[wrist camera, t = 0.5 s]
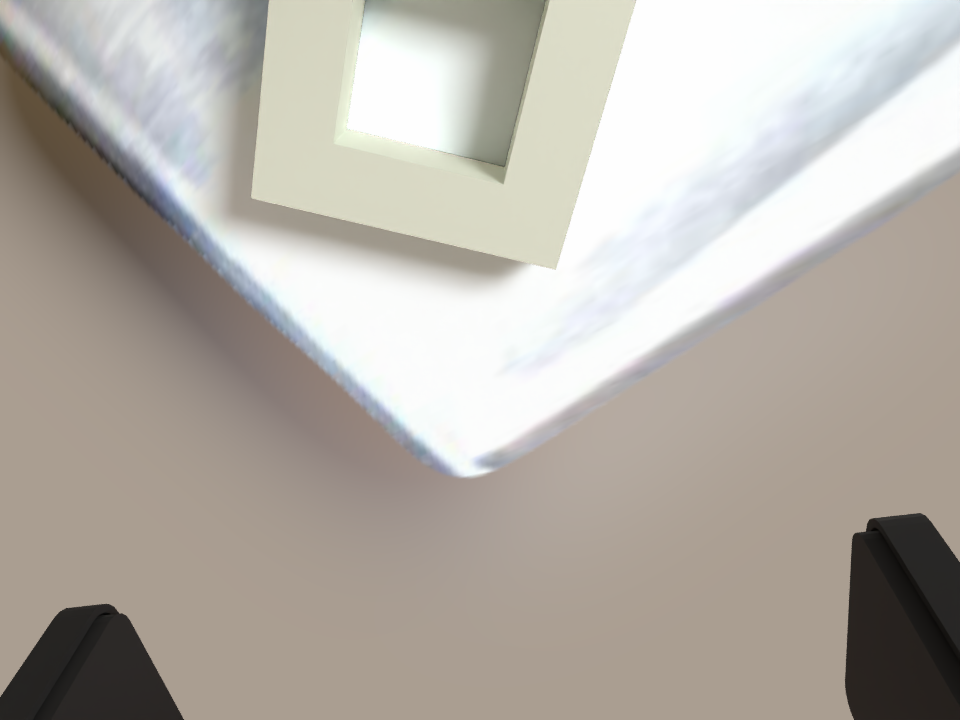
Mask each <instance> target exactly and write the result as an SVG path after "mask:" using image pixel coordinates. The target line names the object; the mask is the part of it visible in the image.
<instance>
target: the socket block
mask: <svg viewBox="0 0 960 720" xmlns="http://www.w3.org/2000/svg"><path fill="white" fill-rule="evenodd" d="M635 3H636V0H546V2H545V6H544V10H543V14H542V18H541V22H540V26H539V30H538V34H537V38H536V42H535V46H534V50H533V55H532V59H531V63H530V67H529V71H528V75H527V79H526V83H525V87H524V91H523V95H522V99H521V103H520V107H519V111H518V115H517V119H516V123H515V127H514V131H513V135H512V139H511V143H510V147H509V151H508V155H507V159H506V163H505V167H503V166H499V165H494V164H490V163H486V162H482V161H478V160H474V159H470V158H466V157H461V156H457V155H453V154H449V153H445V152H441V151H437V150H433V149H428V148H424V147H420V146H416V145H412V144H408V143H404V142H399V141H395V140H391V139H387V138H383V137H379V136H375V135H371V134H366V133H362V132H358V131H354V130H350V129H347V123H348V116H349V109H350V102H351V95H352V89H353V82H354V75H355V68H356V61H357V54H358V47H359V40H360V34H361V27H362V20H363V13H364V6H365V0H269V6H268V17H267V28H266V39H265V50H264V61H263V72H262V83H261V94H260V105H259V116H258V127H257V138H256V148H255V159H254V170H253V181H252V192H251V199H256V200H260V201H264V202H268V203H273V204H277V205H281V206H286V207H290V208H294V209H298V210H303V211H307V212H311V213H316V214H320V215H324V216H328V217H333V218H337V219H341V220H345V221H350V222H354V223H358V224H363V225H367V226H371V227H375V228H380V229H384V230H388V231H393V232H397V233H401V234H405V235H410V236H414V237H418V238H423V239H427V240H431V241H435V242H440V243H444V244H448V245H452V246H457V247H461V248H465V249H470V250H474V251H478V252H482V253H487V254H491V255H495V256H500V257H504V258H508V259H512V260H517V261H521V262H525V263H529V264H534V265H538V266H542V267H547V268H551V269H555V270H556V267H557V264H558V260H559V257H560V254H561V250H562V247H563V244H564V240H565V237H566V234H567V230H568V227H569V224H570V220H571V217H572V214H573V210H574V207H575V203H576V200H577V197H578V193H579V190H580V187H581V183H582V180H583V177H584V173H585V170H586V167H587V163H588V160H589V157H590V153H591V150H592V147H593V143H594V140H595V137H596V133H597V130H598V127H599V123H600V120H601V117H602V113H603V110H604V106H605V103H606V100H607V96H608V93H609V90H610V86H611V83H612V80H613V76H614V73H615V70H616V66H617V63H618V60H619V56H620V53H621V50H622V46H623V43H624V40H625V36H626V33H627V30H628V26H629V23H630V19H631V16H632V13H633V9H634V6H635Z"/></svg>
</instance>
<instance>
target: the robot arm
mask: <svg viewBox="0 0 960 720" xmlns="http://www.w3.org/2000/svg"><path fill="white" fill-rule="evenodd" d="M846 655H847V656H846V675H845V688H846V695H847V699H848V704H849V707H850V711H851V713H852V716H853V718H854V720H960V562H959V561H958V559H957V558H956V557H955V555H954V554H953V552H952V551H951V549H950V548H949V546H948V545H947V544H946V542H945V541H944V539H943V538H942V537H941V535H940V534H939V532H938V531H937V530H936V528H935V527H934V526H933V524H932V523H931V521H930V520H929V519H928V518H927V517H926V516H925V515H923V514H921V513H917V514H908V515H899V516H890V517H881V518H873V519H870V520H869V521H868V523H867V529H866V532H861V533H855V534H854V535H853V539H852V554H851V574H850V595H849V614H848V634H847V654H846ZM0 720H184V719H183V717H182V715H181V713H180V712H179V710H178V708H177V706H176V704H175V702H174V701H173V699H172V697H171V695H170V693H169V691H168V690H167V688H166V686H165V684H164V682H163V680H162V679H161V677H160V675H159V673H158V671H157V669H156V668H155V666H154V664H153V663H152V660H151V658H150V657H149V655H148V653H147V651H146V649H145V648H144V645H143V644H142V642H141V640H140V638H139V636H138V635H137V633H136V631H135V629H134V627H133V625H132V624H131V622H130V620H129V619H128V617H127V616H126V615H124V614H119V612H118V611H117V610H116V609H115V607H113V606H111V605H109V604H101V605H92V606H82V607H74V608H66V609H64V610H62V611H60V612H59V613H58V614H57V615H56V617H55V618H54V619H53V620H52V622H51V623H50V625H49V626H48V628H47V629H46V631H45V632H44V634H43V635H42V637H41V638H40V640H39V641H38V642H37V644H36V646H35V647H34V648H33V650H32V651H31V653H30V654H29V656H28V657H27V659H26V660H25V662H24V663H23V665H22V666H21V667H20V669H19V670H18V672H17V673H16V675H15V677H14V678H13V679H12V681H11V682H10V684H9V685H8V687H7V688H6V690H5V691H4V692H3V694H2V695H1V697H0Z"/></svg>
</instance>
